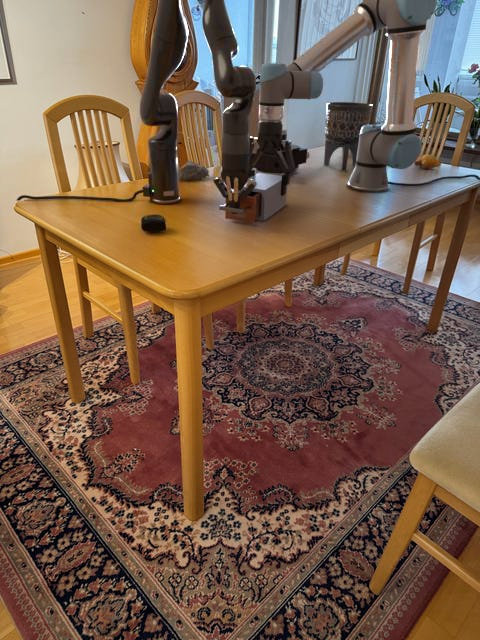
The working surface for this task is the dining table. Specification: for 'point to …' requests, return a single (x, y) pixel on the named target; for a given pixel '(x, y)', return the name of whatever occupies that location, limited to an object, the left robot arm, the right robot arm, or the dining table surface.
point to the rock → (192, 172)
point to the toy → (427, 162)
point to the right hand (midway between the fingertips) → (267, 192)
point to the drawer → (244, 208)
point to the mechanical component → (270, 162)
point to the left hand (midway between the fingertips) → (234, 213)
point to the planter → (345, 129)
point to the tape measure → (153, 223)
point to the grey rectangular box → (268, 194)
